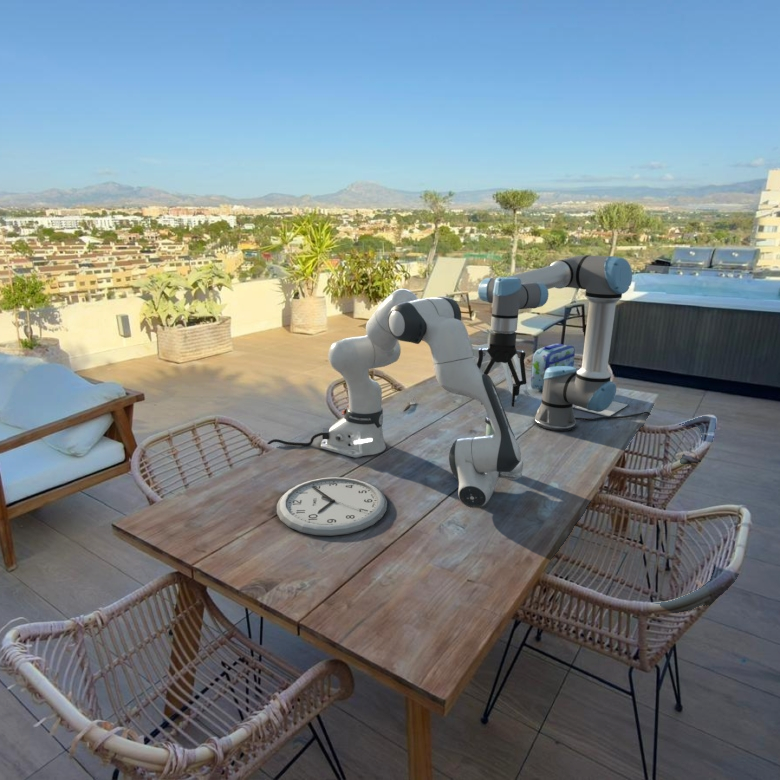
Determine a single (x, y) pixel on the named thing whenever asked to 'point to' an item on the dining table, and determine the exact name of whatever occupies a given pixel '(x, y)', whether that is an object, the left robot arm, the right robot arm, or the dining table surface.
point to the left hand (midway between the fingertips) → (491, 453)
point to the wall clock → (331, 506)
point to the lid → (487, 420)
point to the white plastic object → (495, 365)
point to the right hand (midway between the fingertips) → (497, 404)
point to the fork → (411, 403)
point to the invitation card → (609, 411)
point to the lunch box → (550, 361)
